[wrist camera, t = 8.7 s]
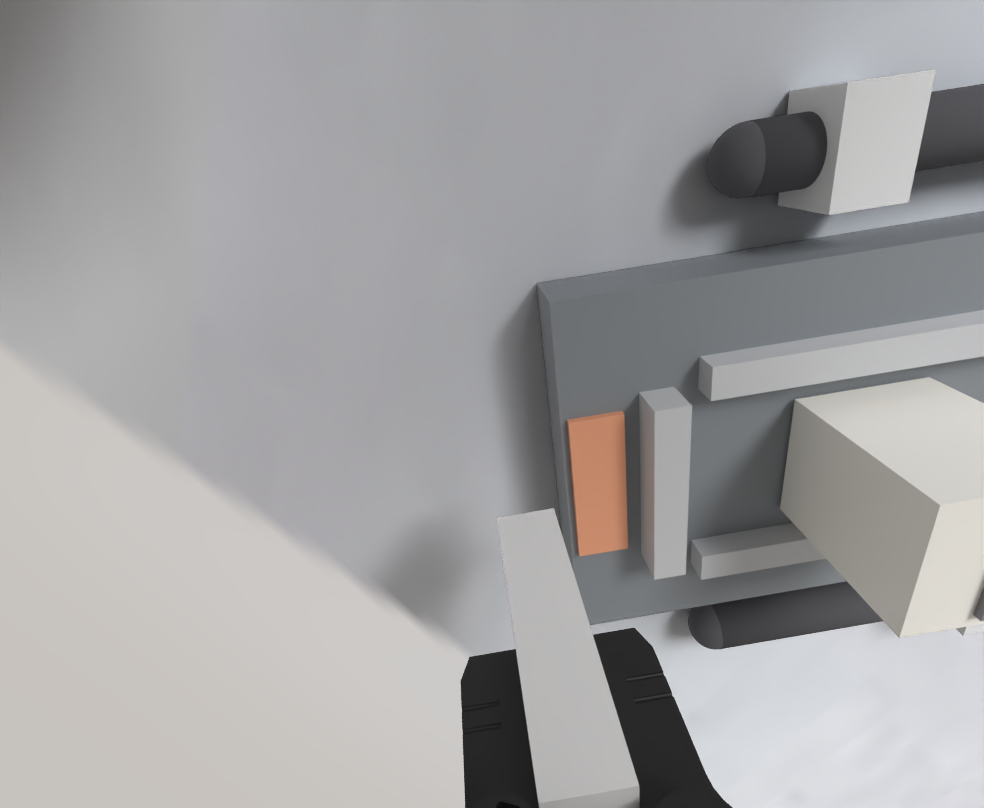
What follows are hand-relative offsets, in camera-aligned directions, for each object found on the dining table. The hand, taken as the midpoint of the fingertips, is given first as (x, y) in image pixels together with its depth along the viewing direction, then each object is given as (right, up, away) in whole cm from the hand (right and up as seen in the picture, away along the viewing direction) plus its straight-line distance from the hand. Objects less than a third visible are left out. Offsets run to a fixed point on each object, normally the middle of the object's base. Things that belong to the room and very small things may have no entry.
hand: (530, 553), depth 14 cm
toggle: (+10, +3, +2) cm, 11 cm away
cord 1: (+12, +12, 0) cm, 17 cm away
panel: (+13, +4, +4) cm, 14 cm away
